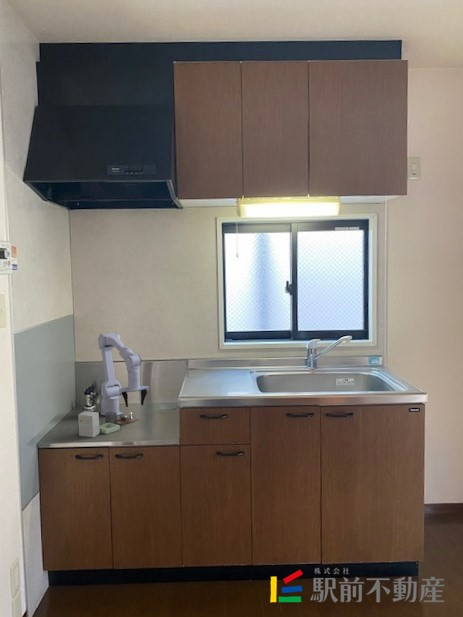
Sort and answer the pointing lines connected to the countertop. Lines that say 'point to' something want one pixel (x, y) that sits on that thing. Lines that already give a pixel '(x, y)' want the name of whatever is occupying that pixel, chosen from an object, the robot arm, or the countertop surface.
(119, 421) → the crank base
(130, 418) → the crank
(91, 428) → the small box
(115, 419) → the block
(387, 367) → the countertop surface
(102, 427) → the tray
